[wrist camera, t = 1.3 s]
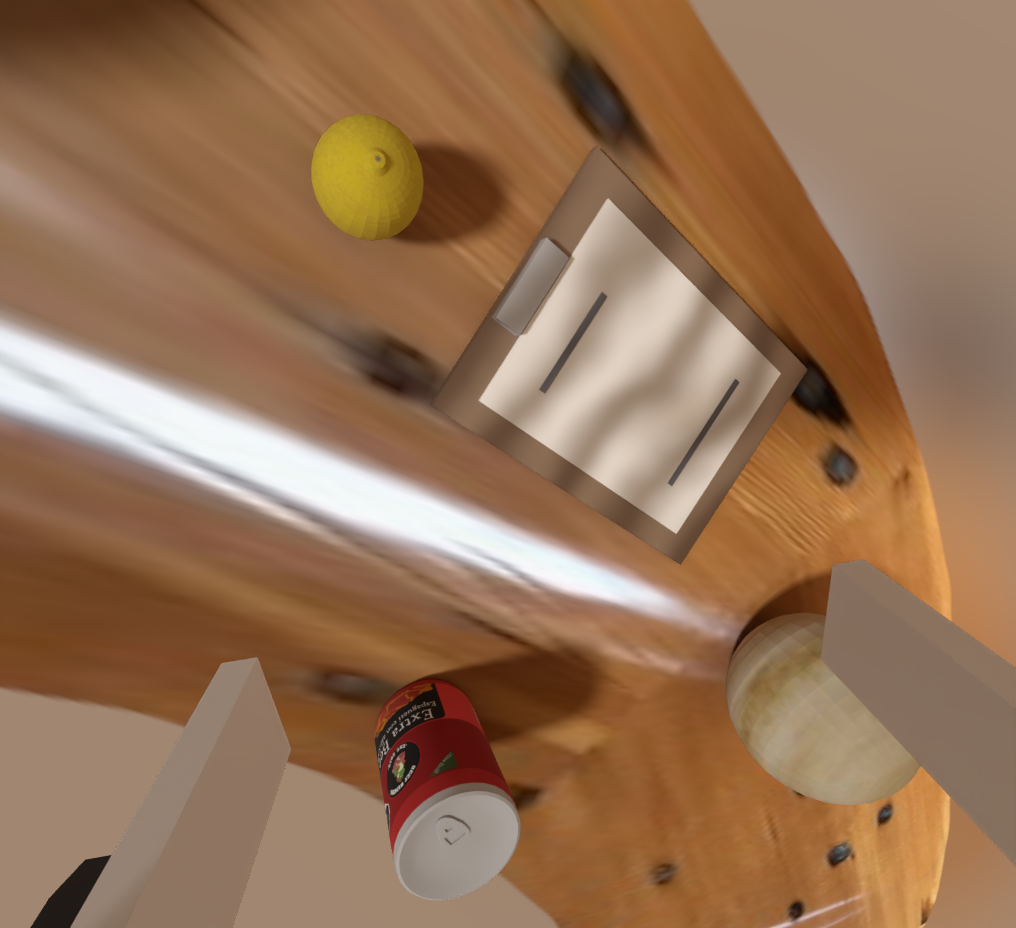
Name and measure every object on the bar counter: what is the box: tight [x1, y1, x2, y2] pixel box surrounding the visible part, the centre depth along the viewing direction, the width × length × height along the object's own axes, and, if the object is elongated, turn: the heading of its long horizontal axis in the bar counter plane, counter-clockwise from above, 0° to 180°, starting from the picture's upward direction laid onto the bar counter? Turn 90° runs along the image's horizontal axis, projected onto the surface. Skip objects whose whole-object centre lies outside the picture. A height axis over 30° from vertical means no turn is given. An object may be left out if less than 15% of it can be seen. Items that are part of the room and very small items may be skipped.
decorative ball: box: [726, 613, 921, 805], centre depth 46 cm, size 15×15×15 cm
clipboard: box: [430, 146, 808, 565], centre depth 40 cm, size 26×20×2 cm
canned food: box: [375, 679, 520, 900], centre depth 36 cm, size 8×8×11 cm
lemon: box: [311, 114, 424, 241], centre depth 27 cm, size 6×6×8 cm
